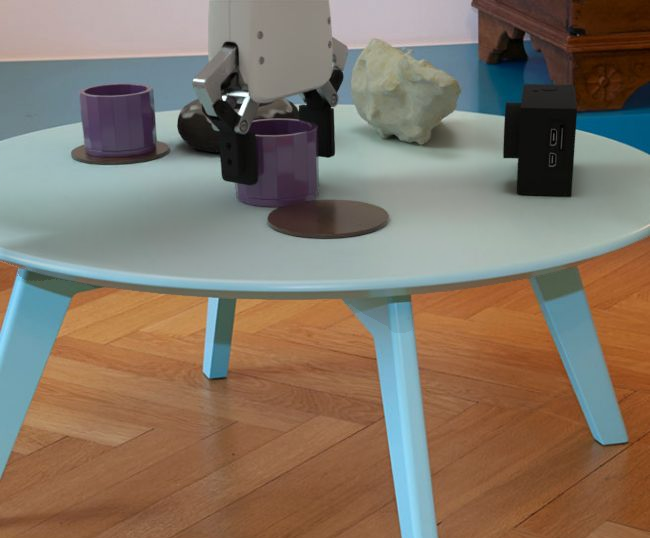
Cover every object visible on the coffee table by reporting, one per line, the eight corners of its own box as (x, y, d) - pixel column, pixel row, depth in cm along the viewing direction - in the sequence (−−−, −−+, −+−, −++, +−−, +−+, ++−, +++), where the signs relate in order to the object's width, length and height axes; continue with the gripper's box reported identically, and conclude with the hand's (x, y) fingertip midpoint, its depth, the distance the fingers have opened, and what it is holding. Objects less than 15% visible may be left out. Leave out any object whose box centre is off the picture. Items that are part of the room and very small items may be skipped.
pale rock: (320, 95, 114) (366, 38, 114) (397, 162, 116) (443, 106, 116) (348, 87, 97) (403, 20, 96) (438, 166, 99) (493, 100, 98)
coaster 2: (352, 245, 78) (352, 241, 78) (244, 227, 83) (243, 223, 83) (409, 212, 86) (409, 208, 86) (307, 197, 90) (307, 194, 90)
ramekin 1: (126, 160, 101) (120, 98, 99) (69, 153, 104) (63, 93, 102) (171, 145, 106) (167, 86, 104) (116, 138, 109) (111, 81, 107)
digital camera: (506, 162, 99) (509, 82, 96) (569, 164, 98) (574, 83, 96) (501, 194, 90) (504, 106, 87) (571, 196, 89) (577, 107, 86)
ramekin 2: (290, 211, 86) (288, 139, 84) (219, 200, 90) (215, 131, 87) (333, 190, 92) (332, 122, 90) (265, 181, 95) (262, 115, 93)
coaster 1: (127, 168, 100) (127, 165, 99) (50, 157, 104) (50, 154, 104) (188, 147, 107) (188, 144, 107) (114, 138, 111) (114, 135, 111)
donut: (313, 152, 104) (312, 109, 102) (184, 161, 102) (181, 117, 100) (289, 126, 114) (288, 86, 113) (172, 134, 112) (170, 93, 111)
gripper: (302, -68, 92) (309, 140, 98) (149, -51, 79) (169, 187, 86) (378, -67, 88) (381, 151, 94) (230, -49, 75) (245, 201, 81)
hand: (280, 168), depth 90 cm, fingers open, 9 cm apart
